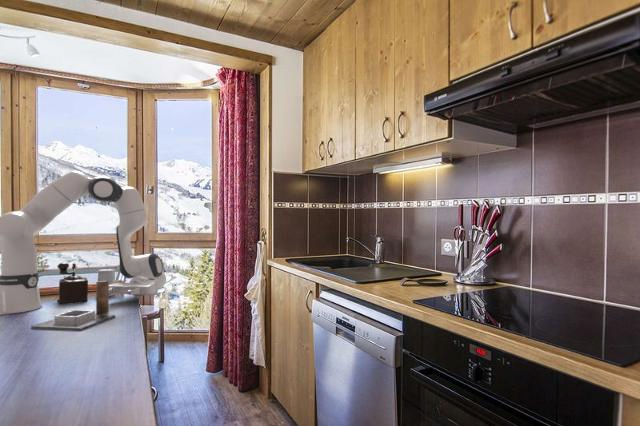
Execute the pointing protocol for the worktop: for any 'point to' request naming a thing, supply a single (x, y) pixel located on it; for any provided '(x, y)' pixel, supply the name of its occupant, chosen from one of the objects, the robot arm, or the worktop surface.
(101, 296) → the walnut peg
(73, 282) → the manual coffee grinder
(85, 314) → the plate
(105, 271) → the skincare box
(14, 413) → the worktop surface
